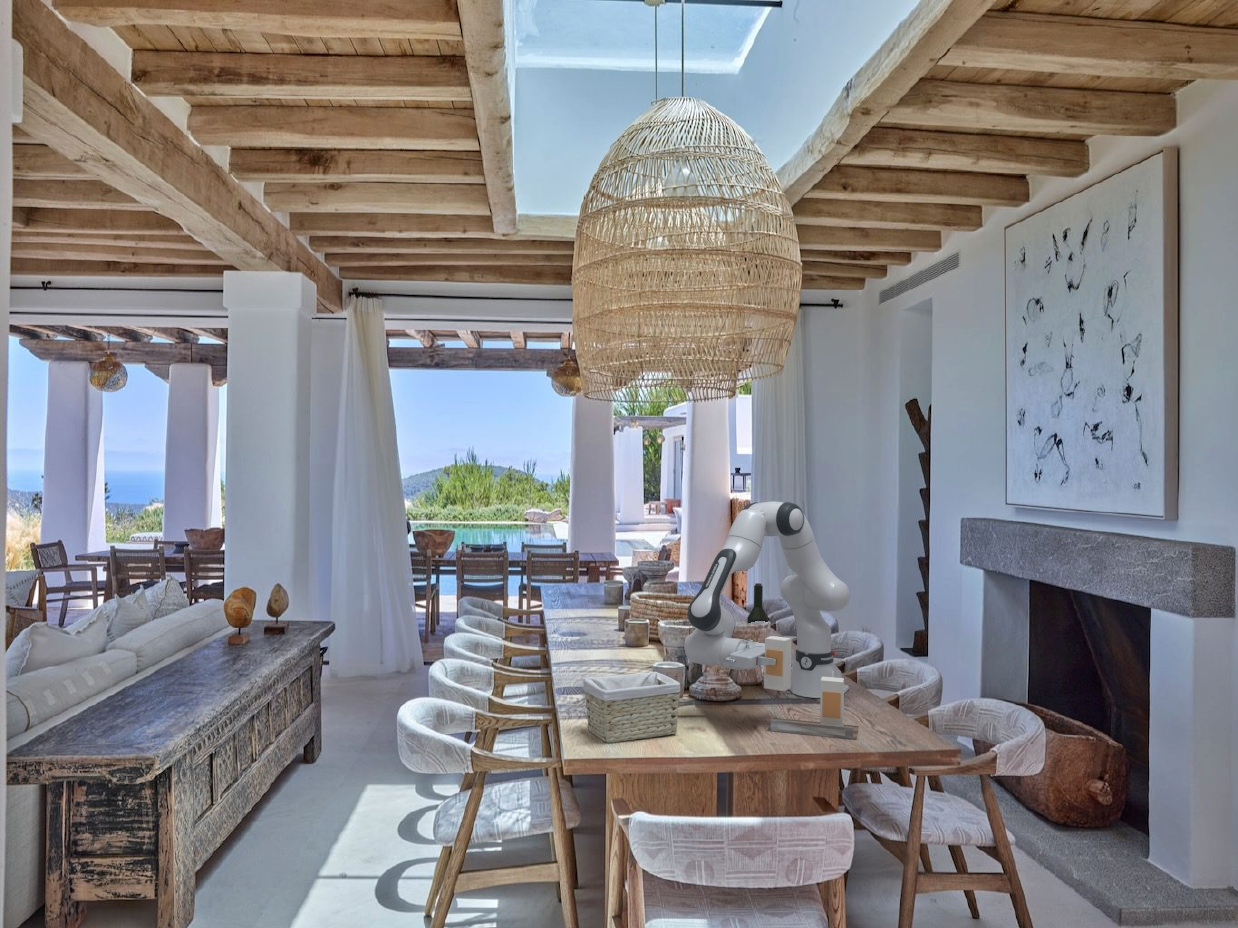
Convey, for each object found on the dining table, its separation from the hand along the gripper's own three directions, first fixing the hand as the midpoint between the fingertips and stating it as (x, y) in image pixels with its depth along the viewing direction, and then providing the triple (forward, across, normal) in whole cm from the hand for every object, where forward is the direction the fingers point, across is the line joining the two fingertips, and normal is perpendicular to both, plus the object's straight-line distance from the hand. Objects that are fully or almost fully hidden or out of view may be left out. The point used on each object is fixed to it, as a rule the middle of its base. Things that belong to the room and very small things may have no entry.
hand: (780, 659), depth 246 cm
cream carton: (-1, 0, +8) cm, 8 cm away
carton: (+13, +5, +18) cm, 23 cm away
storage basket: (-34, -25, +20) cm, 47 cm away
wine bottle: (-44, +86, +20) cm, 99 cm away
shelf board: (+9, +3, +20) cm, 22 cm away
